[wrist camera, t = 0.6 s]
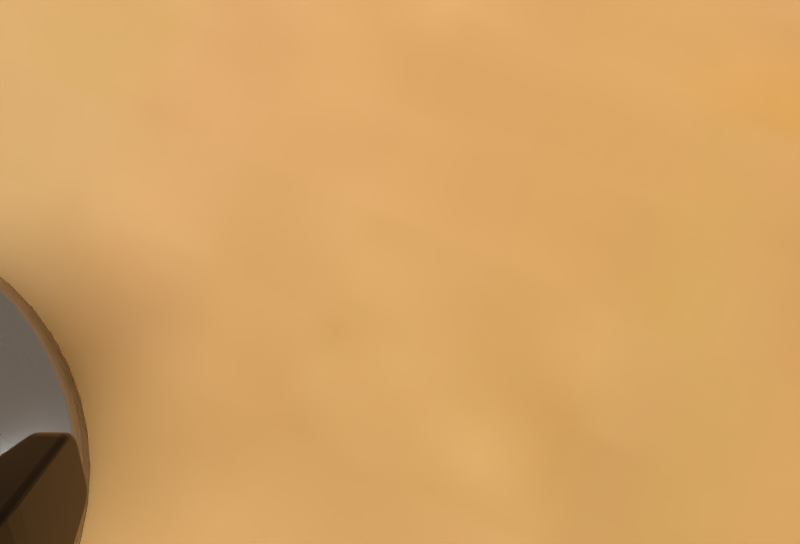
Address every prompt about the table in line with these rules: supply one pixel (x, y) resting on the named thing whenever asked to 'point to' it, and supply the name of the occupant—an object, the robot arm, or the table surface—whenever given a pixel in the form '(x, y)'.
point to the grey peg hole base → (35, 382)
